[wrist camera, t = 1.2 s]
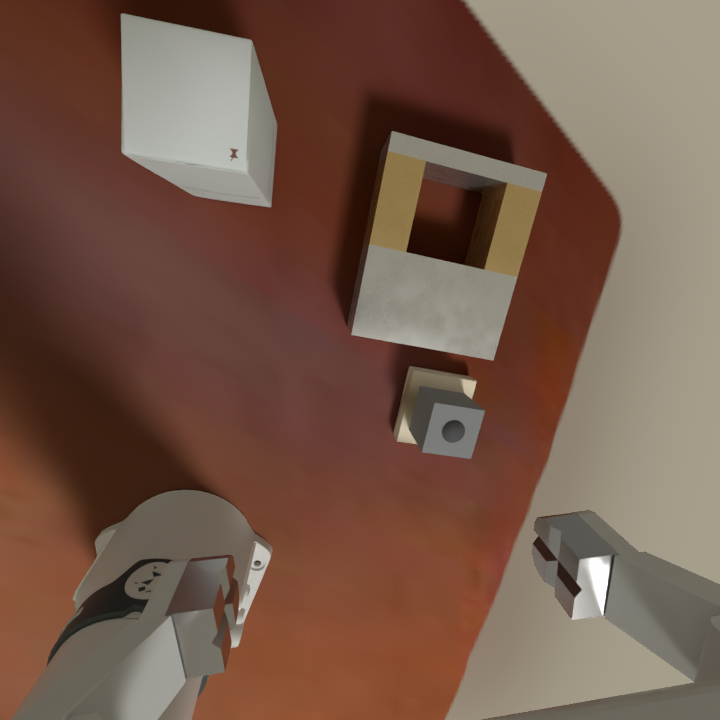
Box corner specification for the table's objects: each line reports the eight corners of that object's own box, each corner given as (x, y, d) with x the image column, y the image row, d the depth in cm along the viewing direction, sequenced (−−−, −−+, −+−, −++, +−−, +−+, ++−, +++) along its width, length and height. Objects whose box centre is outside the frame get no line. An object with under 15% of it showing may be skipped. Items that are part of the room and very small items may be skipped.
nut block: (452, 436, 40) (471, 459, 36) (408, 429, 40) (422, 452, 35) (464, 393, 39) (485, 411, 34) (419, 385, 39) (435, 403, 34)
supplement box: (279, 122, 33) (257, 37, 21) (272, 209, 35) (249, 178, 23) (192, 105, 32) (117, 5, 20) (189, 196, 34) (118, 156, 22)
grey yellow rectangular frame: (472, 349, 40) (493, 360, 36) (346, 326, 38) (351, 334, 33) (516, 185, 37) (547, 173, 32) (381, 149, 35) (391, 130, 30)
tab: (451, 441, 43) (457, 449, 41) (393, 433, 42) (397, 441, 40) (469, 376, 41) (476, 381, 39) (409, 365, 40) (414, 370, 38)
